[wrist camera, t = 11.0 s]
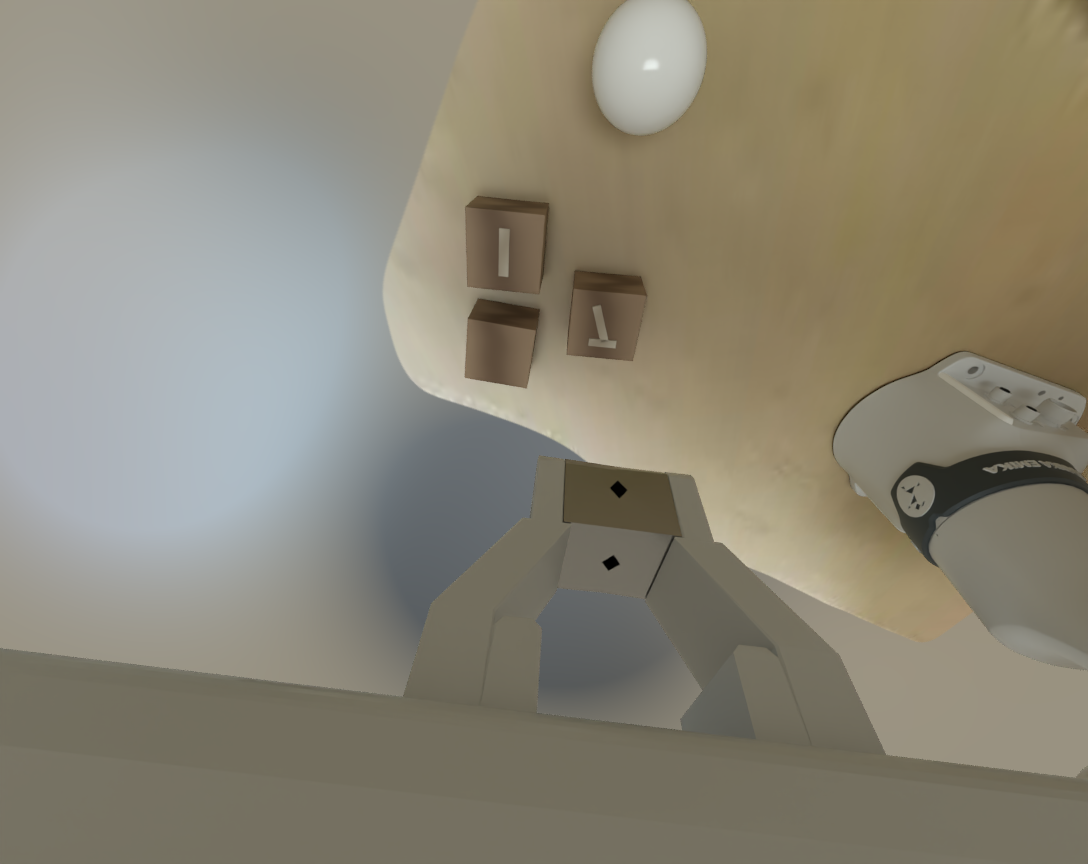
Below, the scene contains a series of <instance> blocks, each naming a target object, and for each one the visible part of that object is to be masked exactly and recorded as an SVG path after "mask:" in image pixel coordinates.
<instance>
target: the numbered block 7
mask: <svg viewBox="0 0 1088 864" xmlns="http://www.w3.org/2000/svg"><path fill="white" fill-rule="evenodd" d="M646 299H647V294H646V291H645V288H644V285H643V282H642V279H641V277H638V276H627V275H616V274H605V273H595V272H584V271H575V274H574V283H573V293H572V302H571V311H570V320H569V329H568V342H567V355H574V356H585V357H595V358H606V359H616V360H627V361H633V358H634V354H635V349H636V345H637V340H638V335H639V331H640V326H641V322H642V317H643V312H644V308H645V303H646Z"/></svg>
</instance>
